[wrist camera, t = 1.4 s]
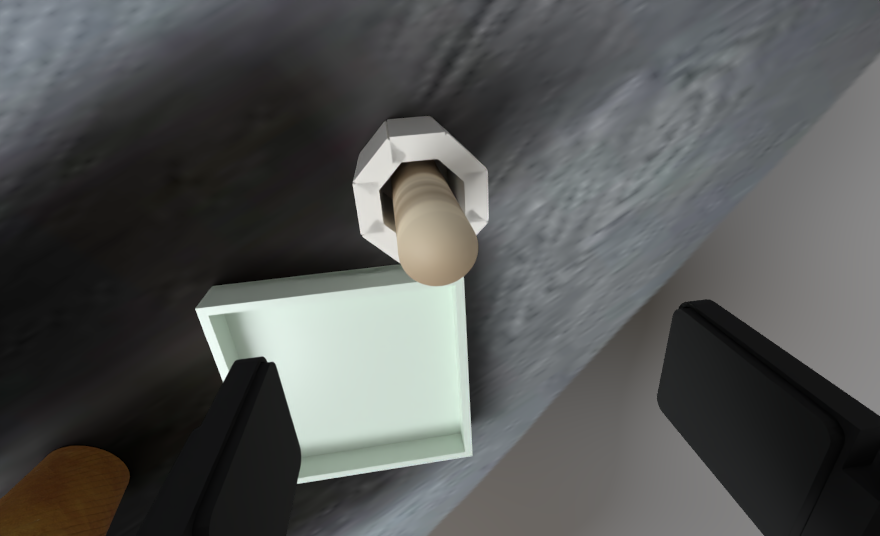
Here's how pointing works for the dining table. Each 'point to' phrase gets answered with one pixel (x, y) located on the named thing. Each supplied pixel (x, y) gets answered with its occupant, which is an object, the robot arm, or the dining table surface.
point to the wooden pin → (430, 226)
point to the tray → (355, 363)
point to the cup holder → (406, 145)
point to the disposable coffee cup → (66, 495)
